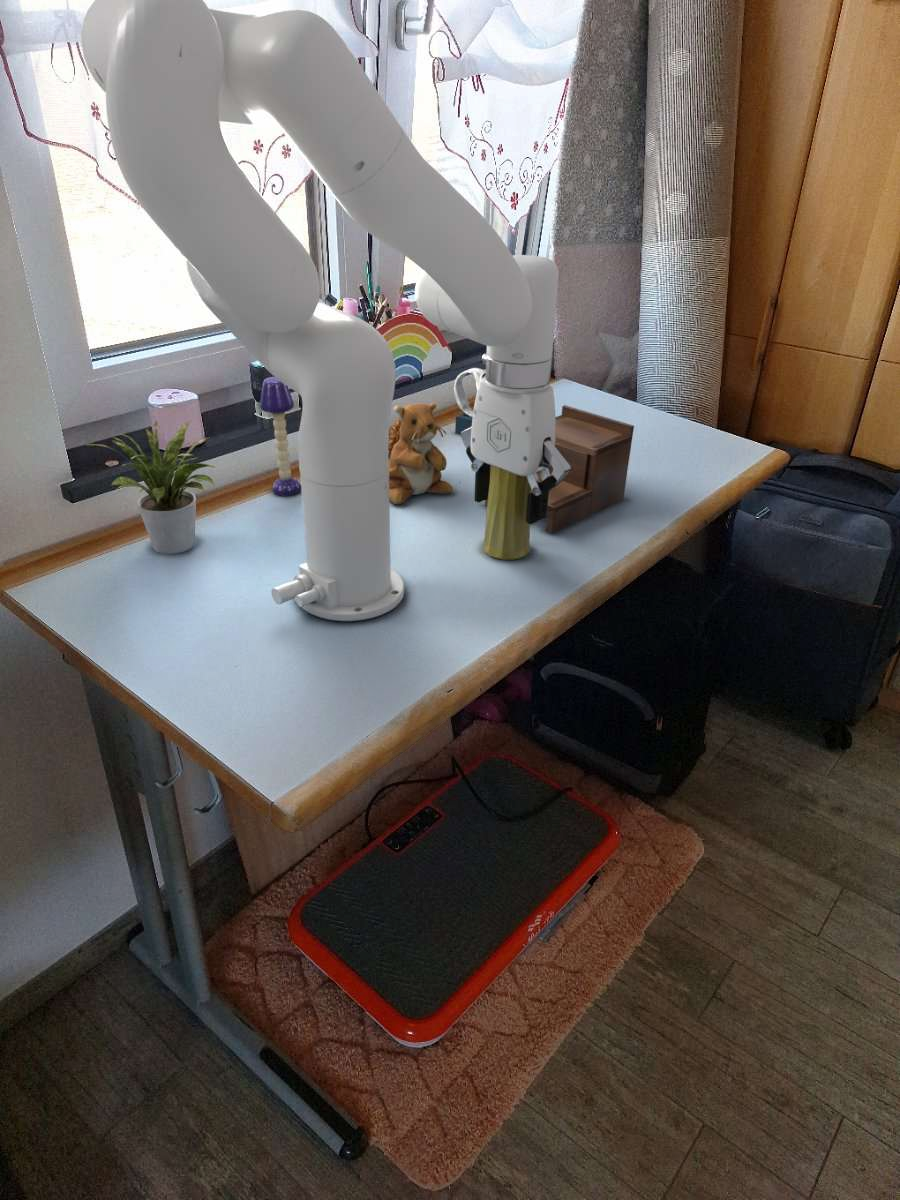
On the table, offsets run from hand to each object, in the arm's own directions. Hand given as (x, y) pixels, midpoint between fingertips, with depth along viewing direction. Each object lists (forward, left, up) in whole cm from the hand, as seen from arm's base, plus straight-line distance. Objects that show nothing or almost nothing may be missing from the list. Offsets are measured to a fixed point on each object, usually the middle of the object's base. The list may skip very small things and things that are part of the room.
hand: (509, 509), depth 103 cm
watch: (+30, +34, -6) cm, 46 cm away
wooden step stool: (+16, +5, -6) cm, 18 cm away
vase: (0, 0, -6) cm, 6 cm away
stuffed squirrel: (+5, +24, -6) cm, 25 cm away
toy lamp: (-10, +35, -6) cm, 37 cm away
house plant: (-32, +30, -6) cm, 44 cm away
